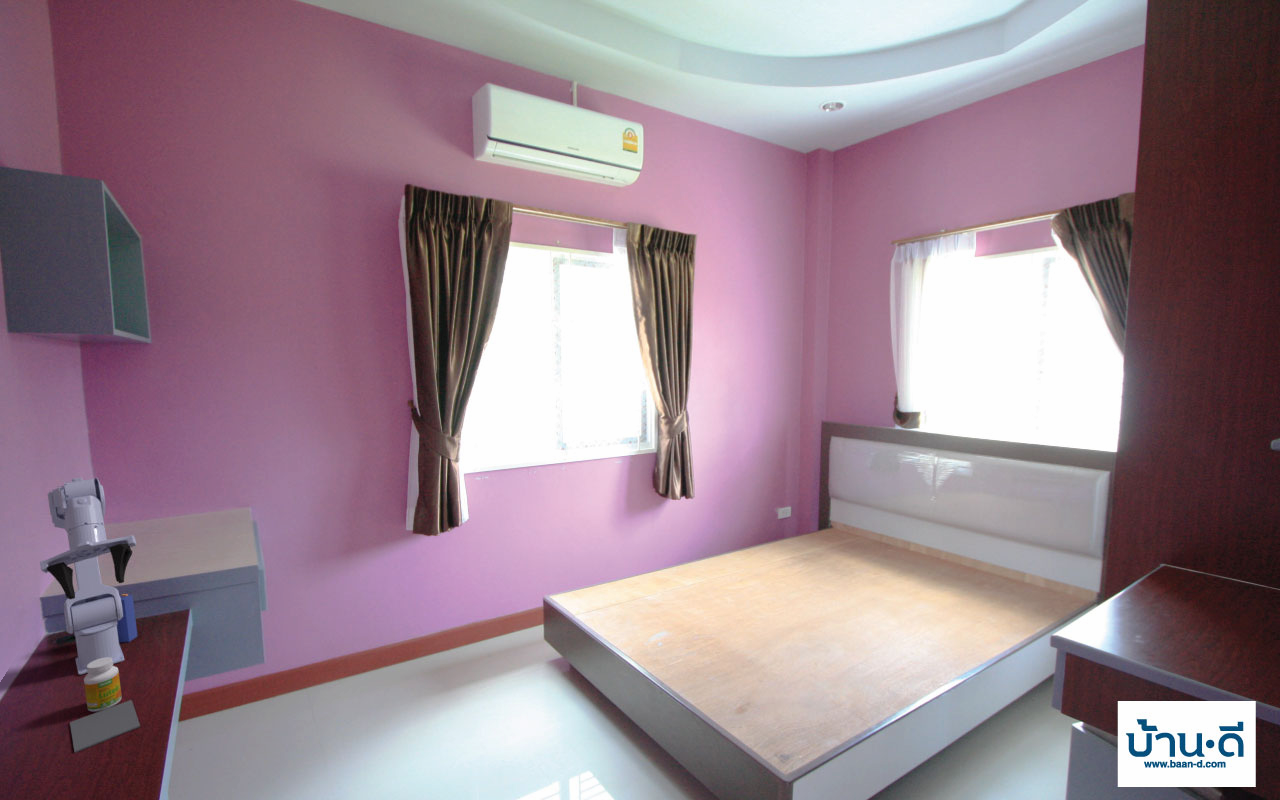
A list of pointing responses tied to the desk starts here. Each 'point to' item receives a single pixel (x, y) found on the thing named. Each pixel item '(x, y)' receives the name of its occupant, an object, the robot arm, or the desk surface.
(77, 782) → the desk surface
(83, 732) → the mat
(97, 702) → the supplement bottle
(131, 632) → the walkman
